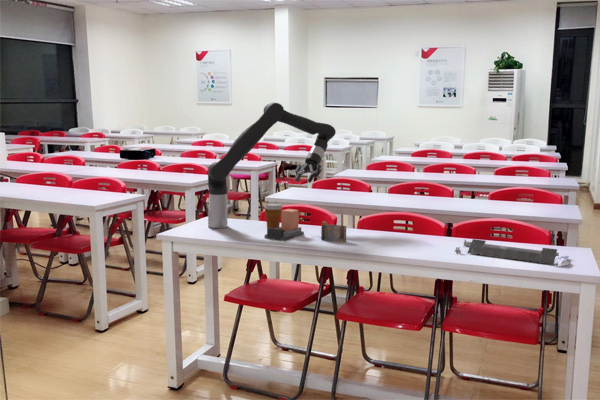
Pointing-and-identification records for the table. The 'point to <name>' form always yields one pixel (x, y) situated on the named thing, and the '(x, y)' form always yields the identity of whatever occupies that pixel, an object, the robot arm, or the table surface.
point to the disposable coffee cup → (273, 214)
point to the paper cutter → (513, 252)
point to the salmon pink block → (289, 219)
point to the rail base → (283, 233)
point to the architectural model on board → (333, 232)
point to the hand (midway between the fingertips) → (302, 181)
